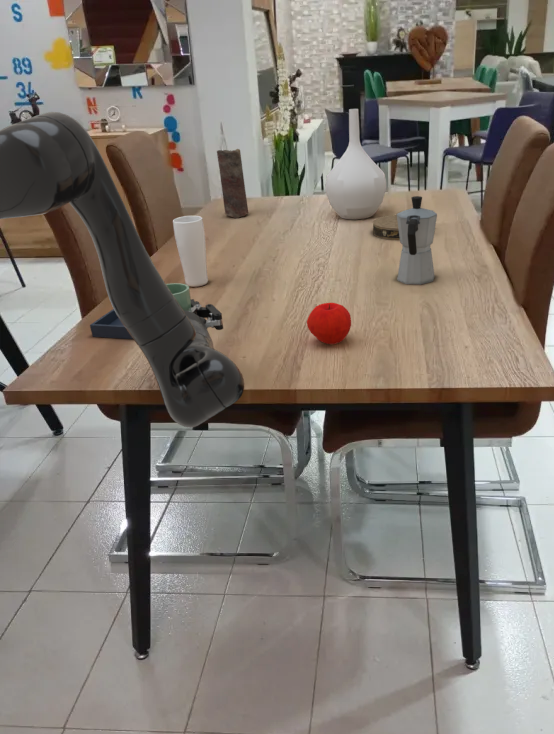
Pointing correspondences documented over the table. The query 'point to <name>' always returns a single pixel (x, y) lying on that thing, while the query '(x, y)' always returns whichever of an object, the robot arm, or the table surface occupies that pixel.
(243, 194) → the candle
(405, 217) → the coffee maker
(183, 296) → the cup
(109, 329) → the tray
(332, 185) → the vase
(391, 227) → the tambourine
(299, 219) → the table surface
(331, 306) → the apple
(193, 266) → the drinking glass
